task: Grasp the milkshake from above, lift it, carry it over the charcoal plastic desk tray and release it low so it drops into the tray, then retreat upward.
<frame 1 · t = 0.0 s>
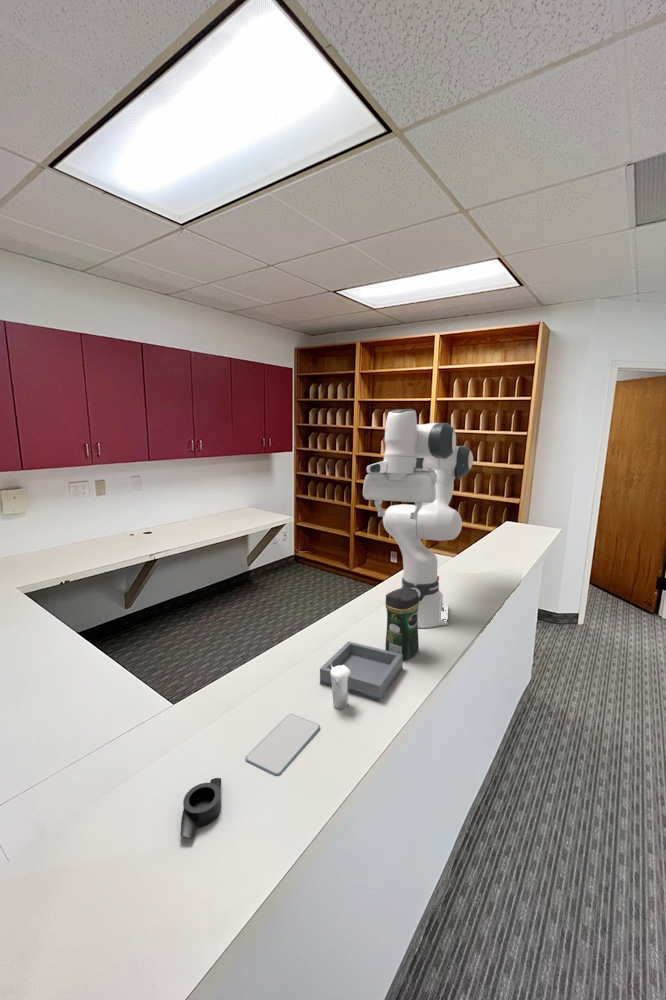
hand: (397, 517, 114), 39 cm above the counter, tool pointing down, fingers open, 8 cm apart
tray: (362, 675, 106), on the counter
black wing nut: (203, 814, 68), on the counter
smartphone: (284, 745, 83), on the counter
coffee jar: (401, 653, 117), on the counter
milkshake: (339, 704, 95), on the counter
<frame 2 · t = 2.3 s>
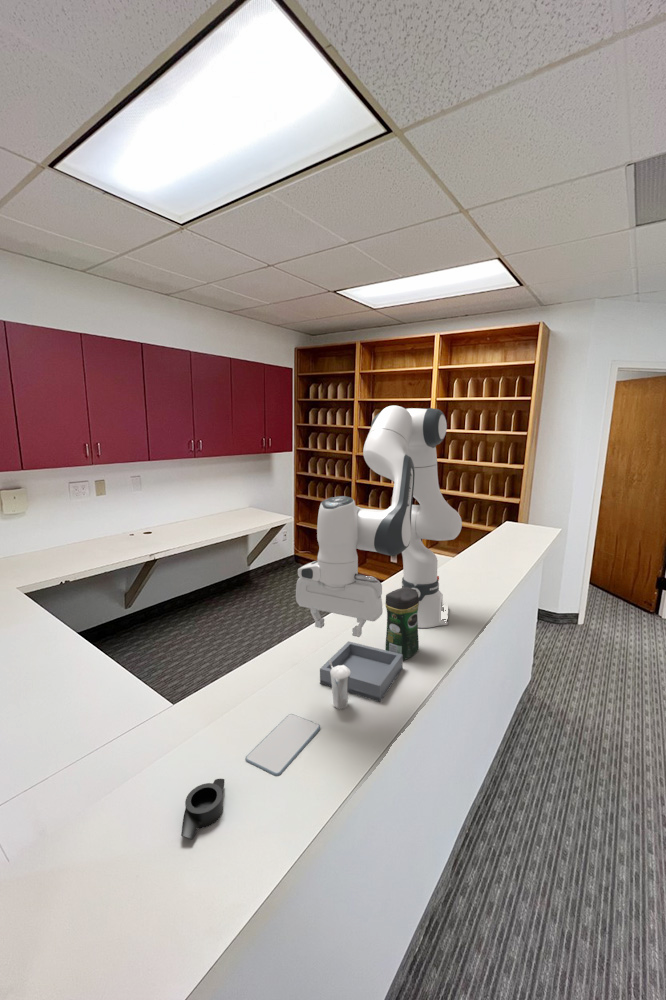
hand: (337, 631, 92), 18 cm above the counter, tool pointing down, fingers open, 8 cm apart
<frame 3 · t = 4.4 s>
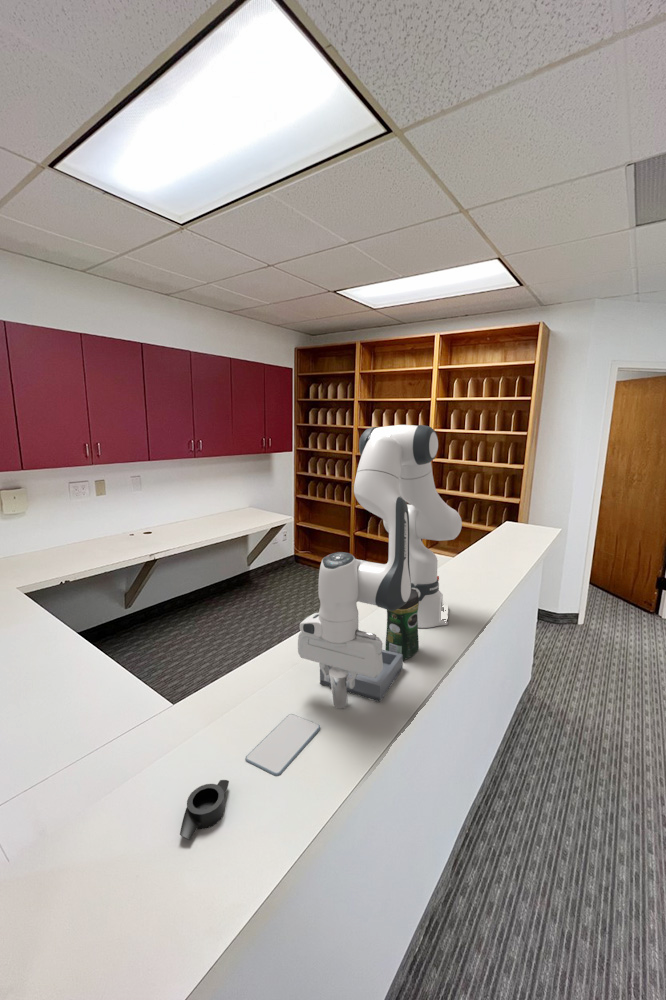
hand: (339, 683, 94), 5 cm above the counter, tool pointing down, fingers closed on milkshake, 4 cm apart
milkshake: (339, 704, 95), on the counter, touching gripper
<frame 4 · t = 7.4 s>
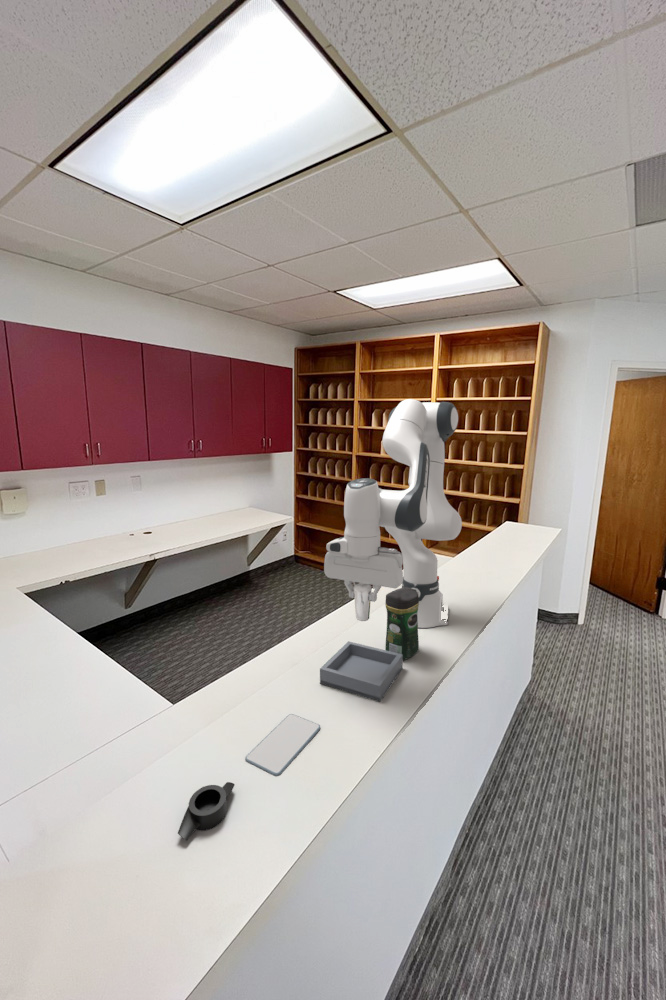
hand: (362, 598, 103), 21 cm above the counter, tool pointing down, fingers closed on milkshake, 4 cm apart
milkshake: (361, 618, 104), point 15 cm above the counter, touching gripper
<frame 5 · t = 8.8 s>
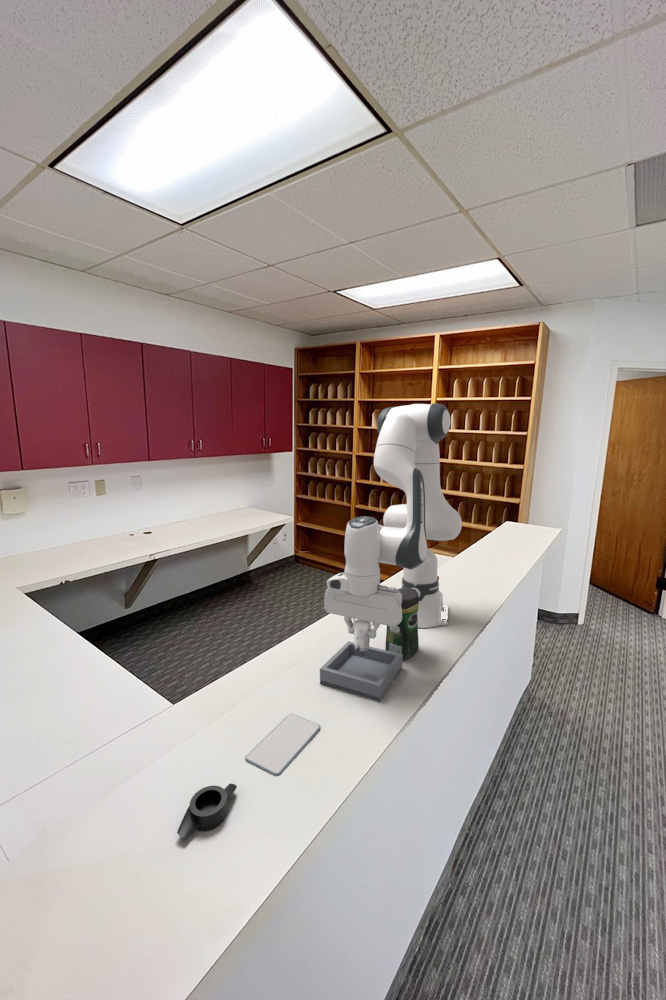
hand: (362, 635, 104), 11 cm above the counter, tool pointing down, fingers closed on milkshake, 4 cm apart
milkshake: (360, 654, 105), point 6 cm above the counter, touching gripper
when the fingers open (8 cm above the counter, at t = 10.2 s): milkshake drops 1 cm, resting on tray.
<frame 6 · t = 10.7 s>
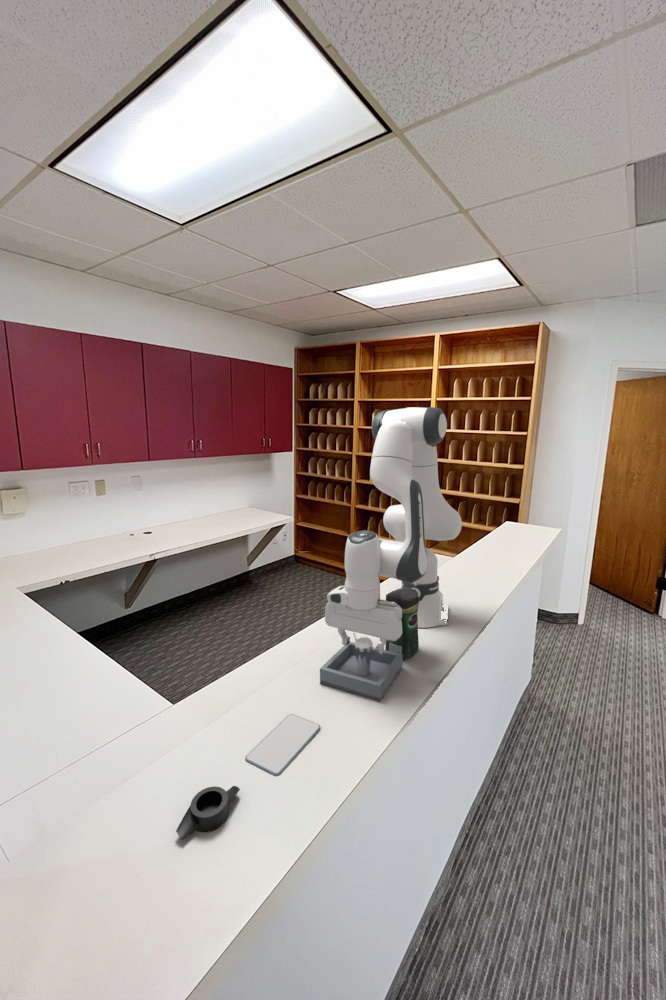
hand: (362, 648, 105), 8 cm above the counter, tool pointing down, fingers open, 8 cm apart
milkshake: (362, 672, 106), point 1 cm above the counter, touching tray
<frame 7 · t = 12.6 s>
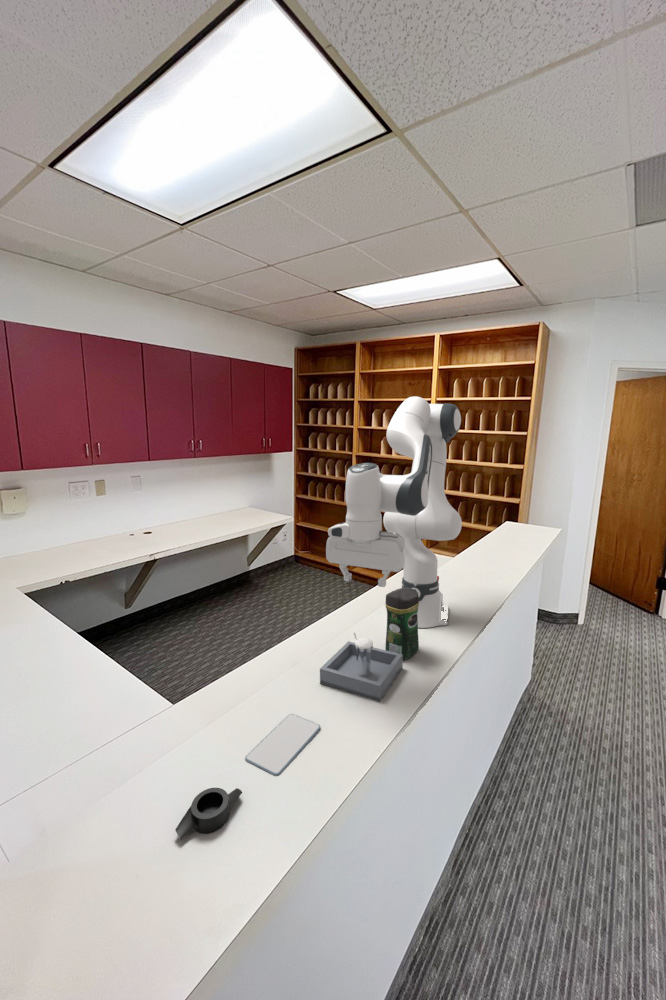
hand: (364, 583, 104), 24 cm above the counter, tool pointing down, fingers open, 8 cm apart
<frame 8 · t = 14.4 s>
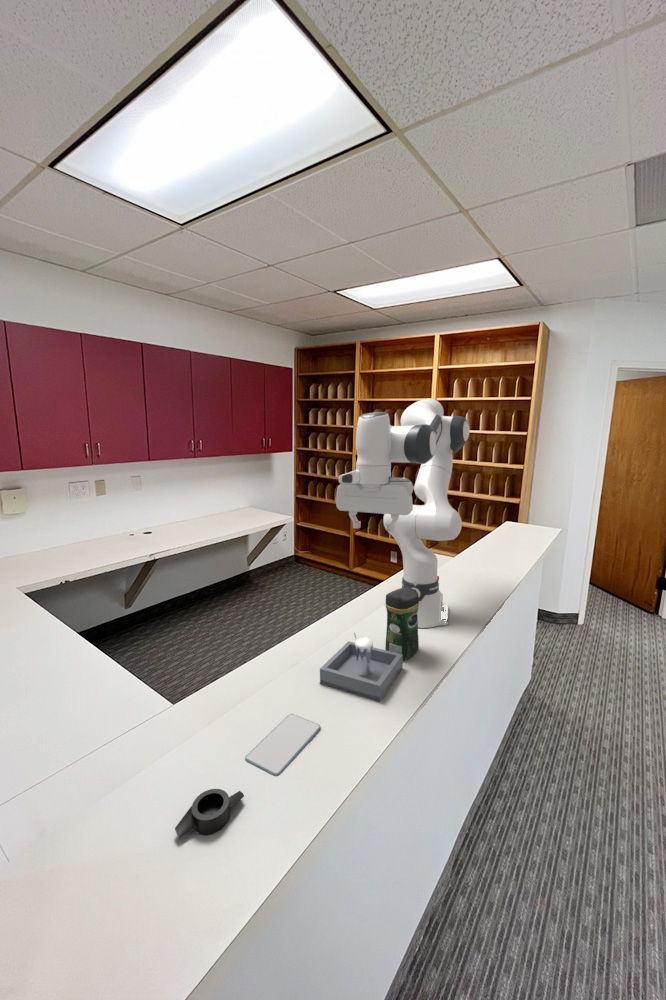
hand: (373, 529, 107), 37 cm above the counter, tool pointing down, fingers open, 8 cm apart
at the end: milkshake inside the target area on the tray (0.0 cm from its centre), point 0.8 cm above the tray's base; the gripper is holding nothing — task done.
